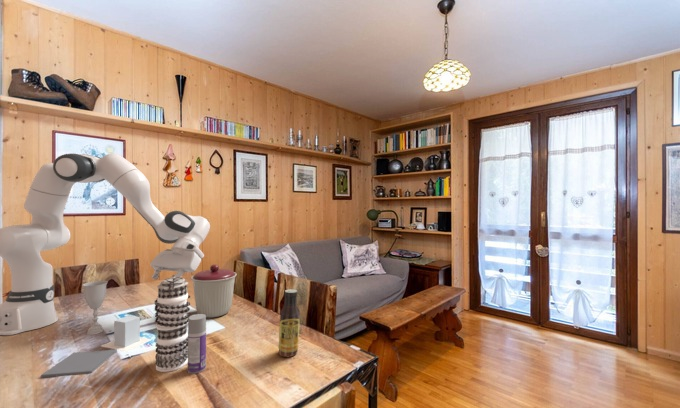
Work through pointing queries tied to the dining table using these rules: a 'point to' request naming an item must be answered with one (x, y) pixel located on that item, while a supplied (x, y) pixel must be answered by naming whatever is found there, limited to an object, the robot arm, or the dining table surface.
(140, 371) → the dining table surface
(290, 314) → the sauce bottle
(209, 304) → the canister
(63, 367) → the slate coaster
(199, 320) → the container
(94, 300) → the chalice
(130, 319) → the grey blue block
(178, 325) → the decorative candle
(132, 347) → the card
